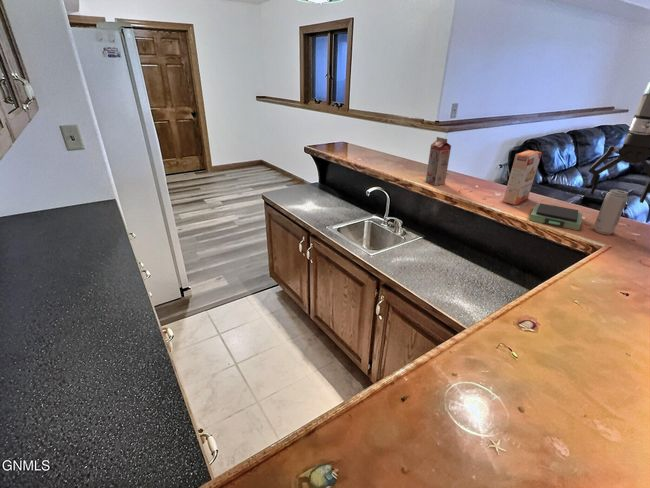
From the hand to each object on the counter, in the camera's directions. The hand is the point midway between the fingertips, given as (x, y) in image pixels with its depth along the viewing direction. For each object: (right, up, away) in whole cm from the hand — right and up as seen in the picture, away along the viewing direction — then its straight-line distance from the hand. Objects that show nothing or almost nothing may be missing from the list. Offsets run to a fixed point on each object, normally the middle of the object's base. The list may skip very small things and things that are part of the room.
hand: (615, 197), depth 119 cm
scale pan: (-11, -4, +14) cm, 18 cm away
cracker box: (-15, +3, +35) cm, 38 cm away
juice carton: (-44, +15, +57) cm, 74 cm away
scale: (-11, -6, +15) cm, 20 cm away
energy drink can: (0, -12, +6) cm, 13 cm away
